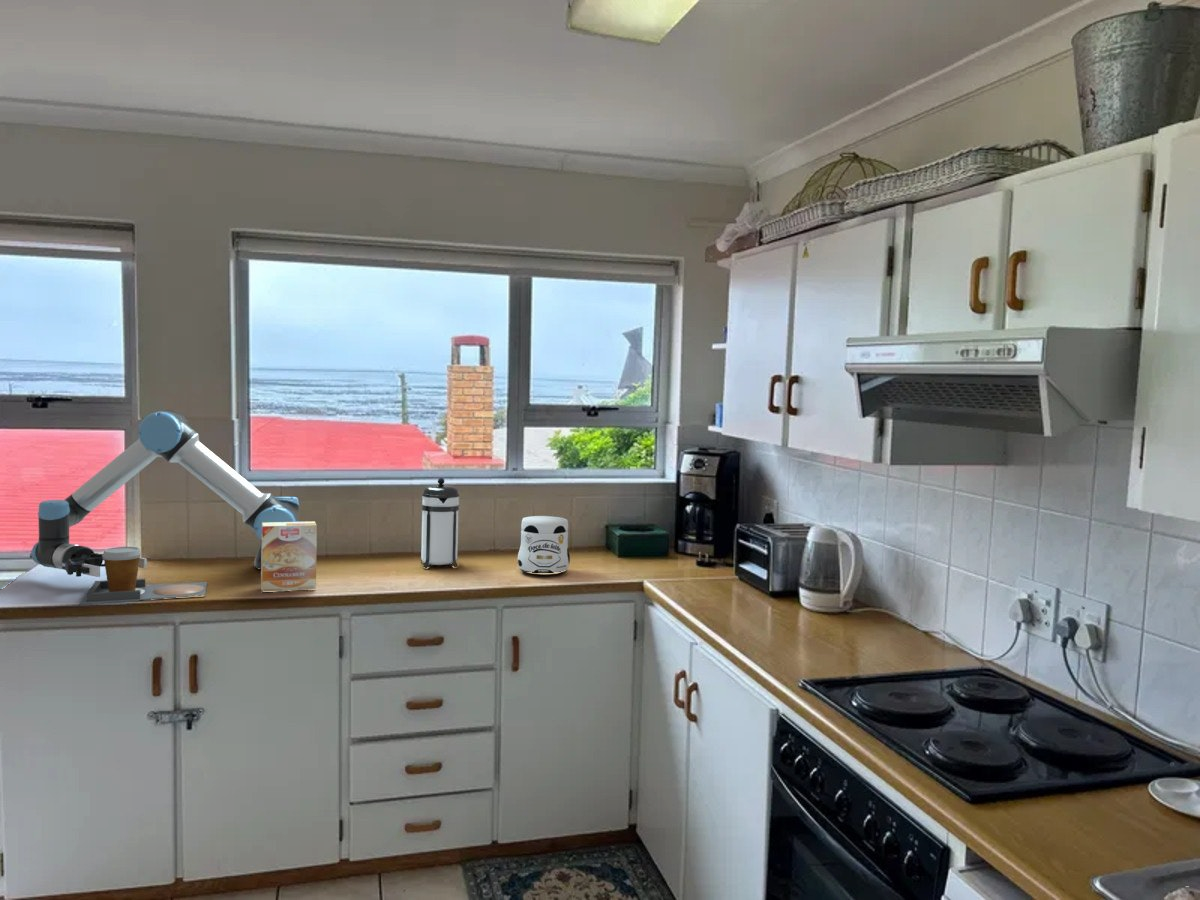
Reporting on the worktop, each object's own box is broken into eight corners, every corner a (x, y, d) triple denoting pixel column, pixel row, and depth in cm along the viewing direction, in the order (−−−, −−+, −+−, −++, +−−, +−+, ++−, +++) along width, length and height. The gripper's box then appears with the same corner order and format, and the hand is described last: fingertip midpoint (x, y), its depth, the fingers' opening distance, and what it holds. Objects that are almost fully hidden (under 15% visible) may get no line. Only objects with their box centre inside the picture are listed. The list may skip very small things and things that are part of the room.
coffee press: (472, 565, 291) (474, 478, 289) (440, 572, 277) (442, 481, 275) (435, 558, 300) (437, 473, 298) (402, 565, 287) (403, 476, 285)
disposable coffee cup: (124, 597, 229) (124, 554, 228) (93, 594, 231) (93, 551, 230) (149, 589, 239) (149, 547, 238) (120, 587, 240) (120, 545, 239)
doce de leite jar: (538, 580, 271) (540, 525, 269) (506, 571, 284) (508, 517, 282) (579, 574, 282) (581, 521, 281) (547, 565, 295) (549, 514, 294)
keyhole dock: (206, 583, 251) (206, 575, 251) (205, 597, 235) (205, 588, 235) (89, 590, 239) (89, 580, 239) (79, 604, 223) (79, 594, 223)
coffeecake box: (261, 593, 242) (262, 525, 241) (260, 588, 248) (261, 522, 247) (316, 590, 248) (317, 524, 247) (314, 585, 255) (315, 520, 253)
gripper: (116, 564, 255) (163, 573, 245) (29, 579, 232) (77, 589, 223) (116, 539, 254) (163, 547, 245) (29, 552, 232) (77, 561, 222)
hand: (122, 567), depth 234 cm, fingers open, 13 cm apart
